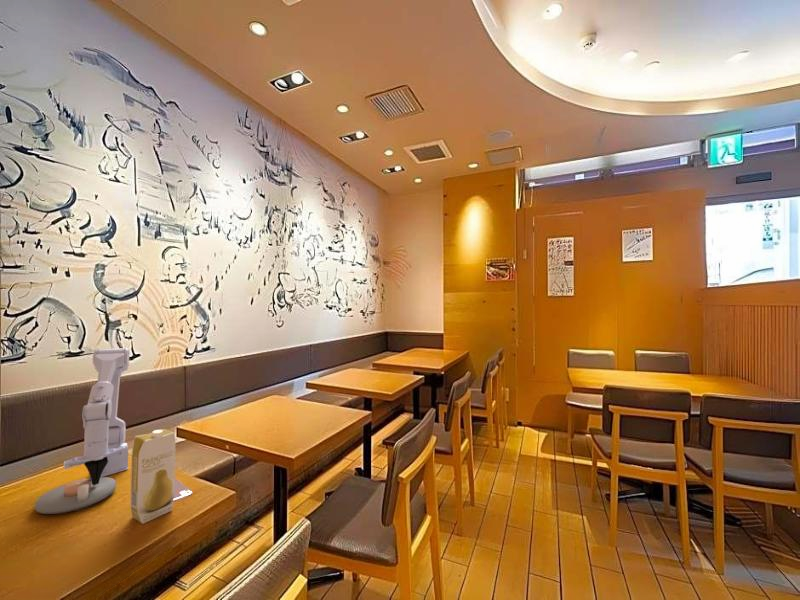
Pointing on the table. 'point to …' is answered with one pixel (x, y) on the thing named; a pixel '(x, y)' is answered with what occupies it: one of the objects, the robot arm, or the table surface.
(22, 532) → the table surface
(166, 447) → the juice carton
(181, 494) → the mobile phone
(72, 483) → the pink rounded disc
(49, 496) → the turntable
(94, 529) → the table surface
